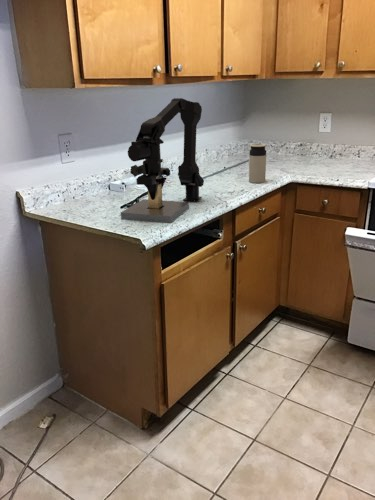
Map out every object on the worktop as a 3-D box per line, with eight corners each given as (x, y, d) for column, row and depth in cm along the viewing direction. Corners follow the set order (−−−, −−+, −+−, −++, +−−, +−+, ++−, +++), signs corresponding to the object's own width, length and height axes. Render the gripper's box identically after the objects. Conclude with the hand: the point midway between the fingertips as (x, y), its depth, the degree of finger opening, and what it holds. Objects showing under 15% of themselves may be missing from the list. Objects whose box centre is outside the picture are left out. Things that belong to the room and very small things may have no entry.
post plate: (143, 205, 183) (143, 199, 182) (189, 208, 177) (188, 202, 176) (121, 218, 166) (120, 212, 165) (170, 222, 159) (170, 216, 158)
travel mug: (252, 184, 213) (252, 146, 207) (246, 180, 221) (247, 144, 214) (267, 182, 215) (269, 145, 208) (261, 179, 222) (263, 143, 216)
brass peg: (153, 205, 173) (151, 182, 169) (162, 206, 171) (161, 183, 168) (148, 208, 169) (147, 185, 166) (158, 209, 168) (157, 185, 165)
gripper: (143, 152, 174) (146, 191, 180) (121, 161, 158) (125, 203, 163) (169, 153, 171) (171, 192, 176) (150, 161, 154) (152, 205, 160)
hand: (155, 198), depth 169 cm, fingers closed on brass peg, 4 cm apart
